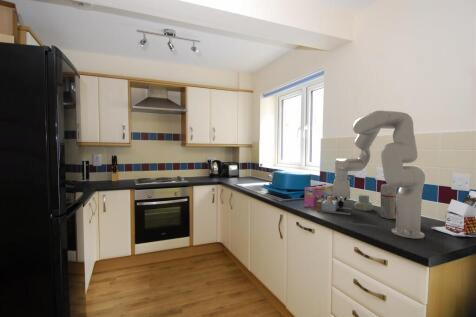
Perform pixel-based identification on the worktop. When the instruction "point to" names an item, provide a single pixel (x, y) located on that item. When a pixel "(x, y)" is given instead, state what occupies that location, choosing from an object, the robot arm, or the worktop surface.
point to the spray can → (388, 201)
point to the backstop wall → (319, 204)
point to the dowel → (329, 199)
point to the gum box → (316, 194)
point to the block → (329, 205)
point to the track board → (338, 212)
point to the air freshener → (363, 203)
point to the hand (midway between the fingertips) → (340, 207)
